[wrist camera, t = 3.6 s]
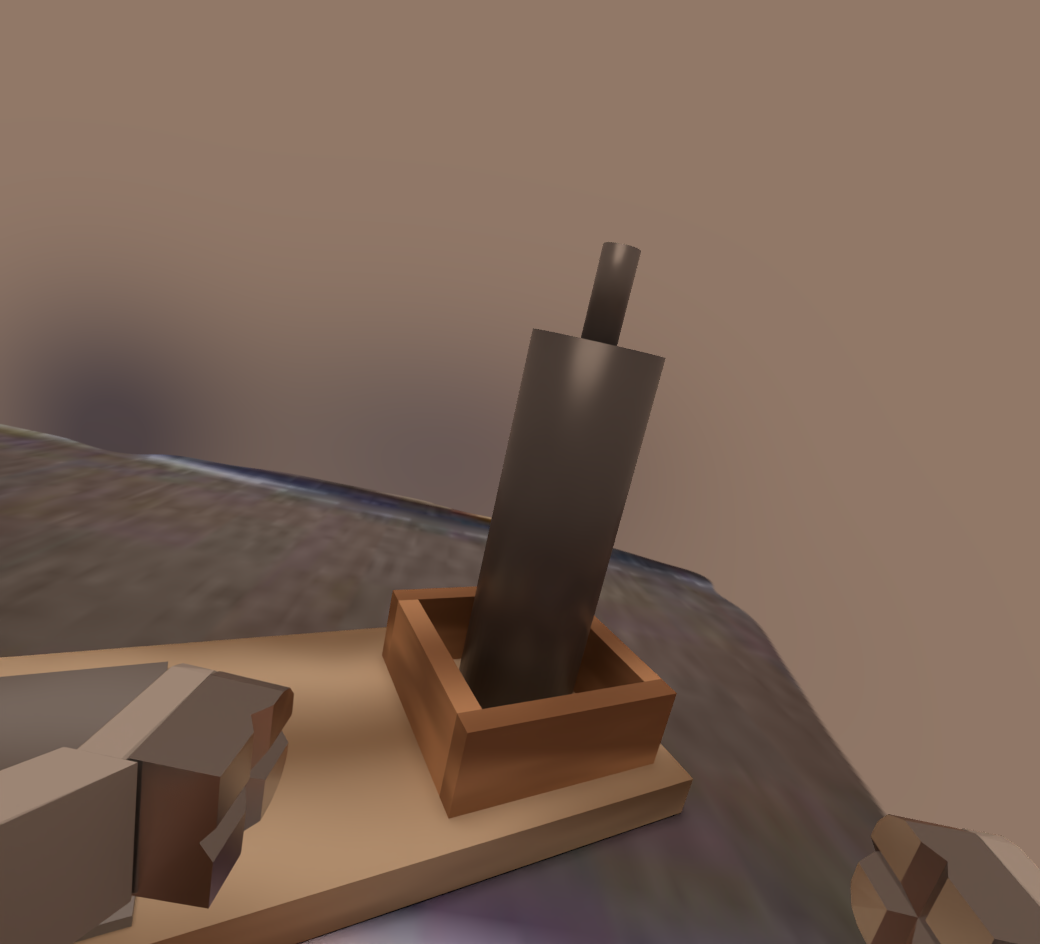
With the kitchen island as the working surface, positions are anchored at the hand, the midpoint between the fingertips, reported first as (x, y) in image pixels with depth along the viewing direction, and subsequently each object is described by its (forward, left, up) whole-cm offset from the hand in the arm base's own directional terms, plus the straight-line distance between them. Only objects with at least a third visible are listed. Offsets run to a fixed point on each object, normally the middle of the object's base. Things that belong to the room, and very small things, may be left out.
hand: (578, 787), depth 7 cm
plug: (-11, +6, -8) cm, 15 cm away
